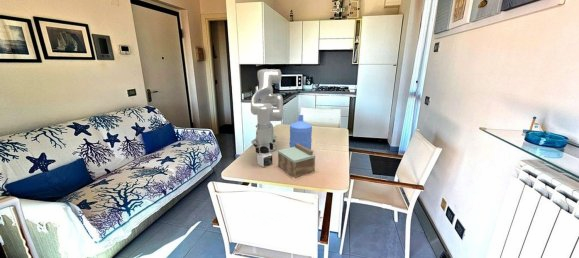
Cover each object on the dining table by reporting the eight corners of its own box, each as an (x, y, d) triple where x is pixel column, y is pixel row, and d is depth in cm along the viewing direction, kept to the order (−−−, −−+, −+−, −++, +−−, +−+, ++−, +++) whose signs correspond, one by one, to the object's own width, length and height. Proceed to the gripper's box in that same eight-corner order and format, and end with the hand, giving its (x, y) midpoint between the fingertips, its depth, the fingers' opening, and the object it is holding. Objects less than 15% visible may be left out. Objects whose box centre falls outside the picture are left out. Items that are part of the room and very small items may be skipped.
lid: (277, 152, 149) (277, 146, 147) (297, 148, 156) (297, 142, 155) (294, 163, 134) (294, 156, 133) (315, 157, 142) (315, 151, 141)
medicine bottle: (263, 167, 149) (263, 150, 146) (257, 164, 154) (256, 146, 151) (272, 164, 154) (272, 147, 150) (266, 161, 159) (265, 144, 155)
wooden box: (278, 166, 151) (278, 153, 149) (297, 161, 159) (297, 148, 156) (294, 177, 137) (294, 163, 134) (314, 171, 144) (315, 157, 142)
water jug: (309, 157, 164) (311, 118, 156) (287, 156, 167) (287, 117, 159) (312, 149, 179) (313, 113, 171) (291, 148, 182) (292, 112, 174)
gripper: (253, 130, 139) (254, 156, 145) (278, 125, 148) (279, 150, 154) (248, 126, 145) (249, 152, 151) (273, 122, 154) (273, 146, 160)
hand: (264, 151), depth 152 cm, fingers open, 9 cm apart
